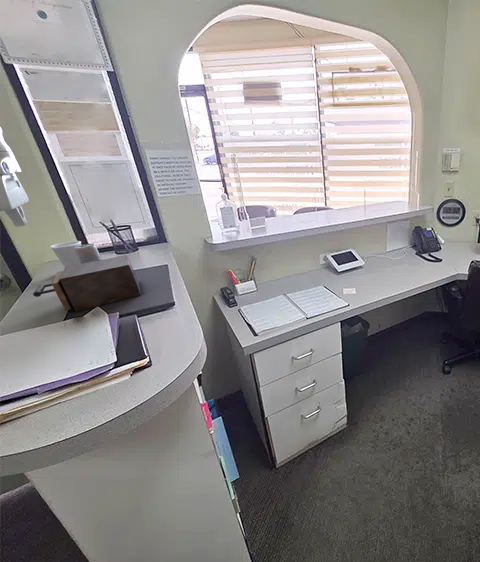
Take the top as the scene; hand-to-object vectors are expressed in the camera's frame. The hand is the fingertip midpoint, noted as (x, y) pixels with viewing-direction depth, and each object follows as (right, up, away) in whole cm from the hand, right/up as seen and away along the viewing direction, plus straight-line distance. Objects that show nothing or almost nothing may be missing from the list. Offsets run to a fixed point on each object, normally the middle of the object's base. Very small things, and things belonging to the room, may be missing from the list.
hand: (21, 225), depth 77 cm
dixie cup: (-24, -10, +39) cm, 47 cm away
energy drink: (-6, -14, +28) cm, 32 cm away
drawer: (+5, -19, +12) cm, 23 cm away
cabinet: (+9, -18, +15) cm, 25 cm away
